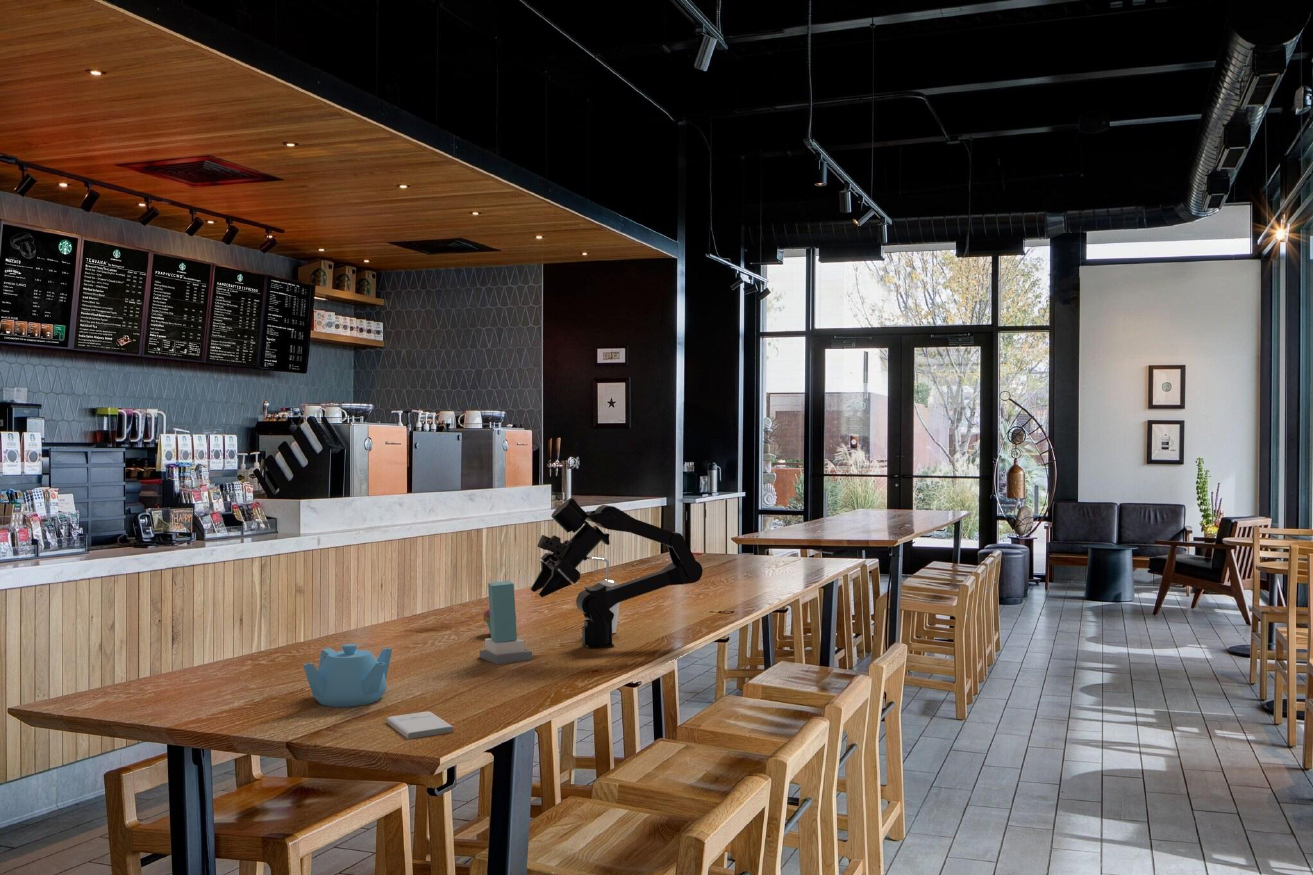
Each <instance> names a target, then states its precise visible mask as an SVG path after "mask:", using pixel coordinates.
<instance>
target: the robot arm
mask: <svg viewBox="0 0 1313 875" xmlns="http://www.w3.org/2000/svg"><path fill="white" fill-rule="evenodd" d="M551 518H552V519H553V520H554V521H555V522H556V523H557V524H558V525H559V526H560V528H562V529H563V530H564V531H565V532H566V533H567V534H569V533H570V532H572V533H573V534H574V533H575V534H574V535H573V536H572V537H571V539H570V540H568V539H567V540H564V541H563V542H561V541H562V539H561V537H559V536H557V535H552V536H551V537H549V536H547V535H544V534H541V536H540V539H539V541H538V544H537V545H536V547H538V548H539V549H542V550H544V551H548V552H545V553H544V554H543V555H542V556H541V557H540V561H539V562H540V571H539V573H538V575H537V577H536V579H535V580H534V582H533V584H532V586H531V587H530V590H531V591H532V592H533V593H535V592H537V591H539V590H540V589H541V590H540V591H539V593H538V595H539V597H541V598H545V597H546V596H549V595H550V594H551V595H552V594H553V593H554V592H555V593H556V592H557V591H560V590H562V589H564V588H567V587H570V586H572V585H573V584H576V583H577V582H578V581H579V580H580V579H581V571H579V570H578V569H577V567H579V565H580V564H581V563H582V562H583V561H584V562H586V561H587V560H589V559H588V557H589V555H590V554H591V553H592V551H594V549H595V548H596V547H597V546H598V545H599V544H600V543H601V542H602V543H603V545H607V546H609V545H610V543H611V542H610V536H611V535H610V533H607V532H606V533H605V532H603V531H602V530H601V529H600V528H602V529H605V530H609V531H615V532H616V531H617V532H622V533H623V532H624V533H625V532H626V533H631V534H633V535H636V536H638V537H641V538H645V539H648V540H650V541H654V542H657V543H659V544H662V545H665V546H666V548H667V550H668V555H669V557H670V560H671V562H670V563H669V564H667V566H665V567H664V568H663V569H660V570H659V571H655V572H653V573H648V574H646V575H642V576H641V577H638V578H637V577H636V578H634V579H630V580H628V581H626V582H622V583H619V584H618V585H616V586H613V587H607V588H606V586H605V585H603V584H601V583H599V582H598V583H595V584H594V585H592V586H584V587H583V588H584V590H581V591H580V592H579V593H578V594H577V596H576V600H575V604H576V608H577V609H578V610H579V611H580V612H582V614H583V616H584V618H585V619H584V620H583V621H584V624H583V626H582V627H581V630H582V631H581V633H582V636H581V637H582V638H581V641H582V645H584V646H585V647H587V648H588V649H595V648H608V647H609V648H610V647H615V643H613V633H612V620H613V617H614V613H613V612H611V611H610V610H609V609H610V608H612V607H613V606H614V605H615V604H617V603H619V602H620V603H621V602H623V601H627V600H630V599H633V598H636V597H639V596H642V595H645V594H648V593H650V592H653V591H656V590H659V589H662V588H666V587H669V586H680V585H681V586H683V585H690V584H695V583H697V582H699V581H700V580H701V578H702V575H703V573H704V572H703V571H704V570H703V567H702V564H701V563H700V562H699V561H697V560H696V557H695V555H694V554H693V552H692V551H691V549H690V547H689V546H688V544H687V542H686V540H685V538H684V536H683V535H682V534H681V533H680V532H676V531H672V530H671V531H670V530H668V529H666V528H662V527H660V526H656V525H654V524H651V523H648V522H645V521H642V520H639V519H636V518H634V517H633V516H631V515H630V514H628V513H627V512H625V511H623V510H621V509H620V508H618V507H616V506H612V505H608V504H602V505H600V506H597V507H596V509H595V510H591V511H589V510H587V511H585V510H584V509H583V508H582V506H580V505H579V504H578V502H577V501H576V500H575V499H574V498H573V497H569V498H568V500H566V501H565V502H562V503H561V505H558V506H557V507H556V509H555V510H554V511H553V512H552V514H551ZM589 522H592V523H595V526H594V525H593V526H592V525H591V524H590V523H589Z"/></svg>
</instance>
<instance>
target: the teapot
mask: <svg viewBox="0 0 1313 875" xmlns="http://www.w3.org/2000/svg"><path fill="white" fill-rule="evenodd" d="M357 647H358V644H355V643H346V644H343V645H342V646H341V648H342V650H338V651H336V650H335V649H332V648H330V647H329V648H322V649H321V652H320V656H319V662H318V668H316V666H315V664H314V663H312V662H309V663H304V664H302V666H303V669H304V670H303V671H304V672H305V676H306V678H307V682H308V684H309V687H310V690H311V692H312V696H313V697H314V698H315V700H316V701H317V702H318V703H319V704H320V705H322V706H326V707H334V708H347V707H358V706H363V705H369V704H372V703H375V702H377V701H379V700H380V699H381V698H382V696H383V695H384V694H385V693H386V691H387V685H388V684H387V679H388V678H387V677H388V672H389V667H390V663H391V657H392V653H393V648H389V647H387V648H382V649H381V651H380V654H379V655H378V657H377V658H376V657H375V655H374V654H373V653H372V651H369V650H366V649H357Z"/></svg>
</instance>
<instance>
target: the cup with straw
mask: <svg viewBox="0 0 1313 875" xmlns="http://www.w3.org/2000/svg"><path fill="white" fill-rule="evenodd" d="M587 557H588V559H587V560H593V561H600V562H605V563H606V564H605V565H606V568H605V569H606V570H605V572H606V575H605V576H606V579H603V580H602V579H601V580H600V581H599V582H598V583H601V584H603V585H605V586H606V588H607V587H613V586H616V585H619V584H618V582H617V581H616V580H613V579H610V561H609V560H608V559H607V558H601V557H594V556H587ZM620 605H621V602H619V603H617V604H615V605H614V606H613V607H612V608H610V609H609V610H610V611H611V612H613V613H614V617H613V620H612V634H617V628H618V622H619V611H620Z"/></svg>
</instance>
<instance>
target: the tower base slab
mask: <svg viewBox="0 0 1313 875" xmlns="http://www.w3.org/2000/svg"><path fill="white" fill-rule="evenodd" d="M479 658H480V659H482V660H485V661H488V662H489V663H493V664H496V665H499V664H501V665H502V664H508V663H517V662H522V661H531V660H533V651H532V650H529V649H526V648H524V652H517V653H508V654H499V655H495V654H493V653H491V652H489V651H487V650H485V648H483V649H479Z"/></svg>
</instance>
